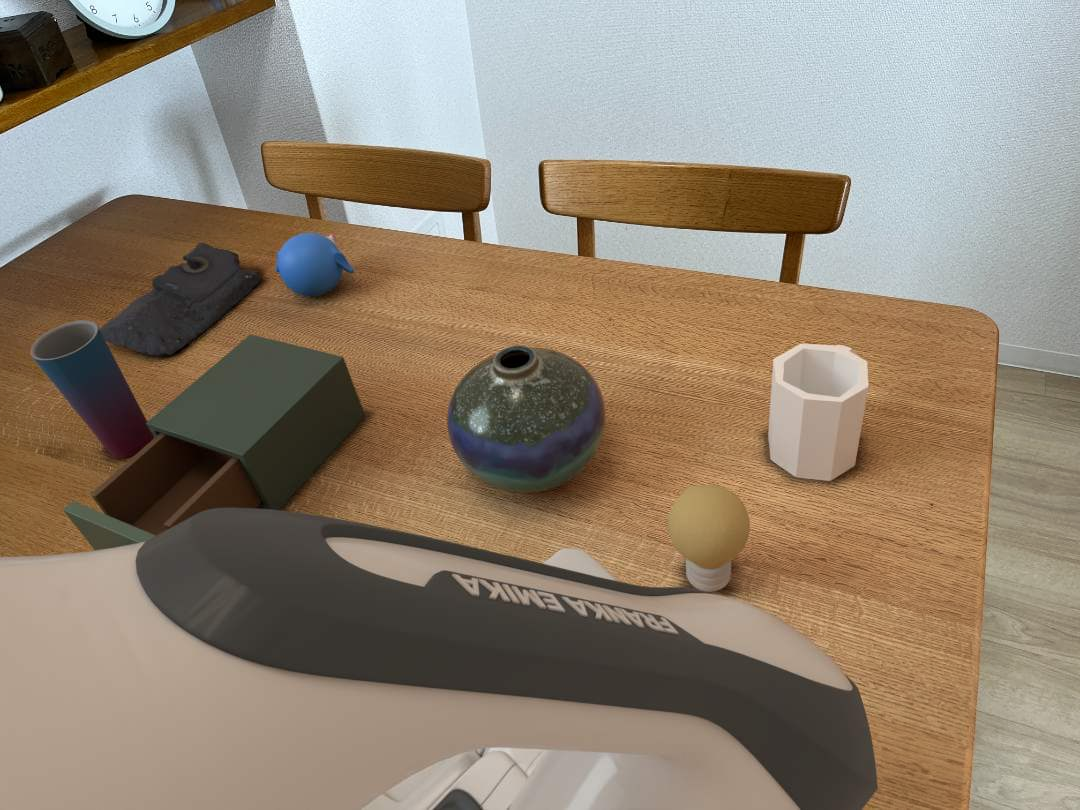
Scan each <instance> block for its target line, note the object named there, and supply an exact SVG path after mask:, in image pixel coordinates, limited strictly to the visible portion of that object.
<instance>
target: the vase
mask: <svg viewBox="0 0 1080 810" xmlns="http://www.w3.org/2000/svg"><path fill="white" fill-rule="evenodd" d="M606 413H607V411H606V405H605V400H604V395H603V393H602V390H601V387H600V386H599V383H598V382H597V381H596V379H595V377H594V375H593V374H592V373H591V372H590V371H589V370H588V369H587V368H586V367H585V366H584V365H583V364H582V363H580V362H579V361H578V360H576V359H575V358H573V357H572V356H569V355H568V354H566V353H563V352H560V351H557V350H554V349H551V348H547V347H546V348H545V347H533V346H532V347H530V346H526V345H519V344H517V345H511V346H507V347H505V348H503V349H501V350H500V351H498V352H497V353H496V354H493V355H491V356H488V357H487V358H485V359H483V360H481V361H480V362H478V363H477V364H476V365H474V366H473V367H472V368H471V369H470V370H469V371H467V373H465V375H463V377H462V378H461V379H460V380H459V382H458V383H457V385H456V387H455V388H454V390H453V392H452V395H451V397H450V400H449V403H448V407H447V415H446V419H447V420H446V427H447V433H448V438H449V441H450V443H451V447H452V448H453V450H454V453H455V455H456V456H457V458H458V459H459V461H460V462H461V464H462V465H463V466H464V467H465V469H466V470H468V471H469V472H470V473H471V474H472V475H473V476H474V477H475V478H477V479H478V480H479V481H481V482H483V483H484V484H486V485H488V486H490V487H493V488H495V489H497V490H501V491H503V492H508V493H514V494H532V493H540V492H544V491H549V490H552V489H554V488H557V487H559V486H562V485H564V484H566V483H568V482H569V481H571V480H573V478H575V477H576V476H578V475H579V474H580V473H581V472H582V471H583V470H584V469H585V468H586V467H587V466H588V464H589V463H590V462H591V461H592V460H593V458H594V456H595V455H596V453H597V451H598V450H599V447H600V445H601V443H602V440H603V437H604V432H605V427H606Z"/></svg>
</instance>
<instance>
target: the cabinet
mask: <svg viewBox="0 0 1080 810" xmlns="http://www.w3.org/2000/svg"><path fill="white" fill-rule="evenodd" d="M365 418H366V414H365V410H364V408H363V406H362V403H361V400H360V398H359V395H358V392H357V390H356V386H355V384H354V382H353V379H352V377H351V374H350V371H349V369H348V365H347V363H346V361H345V357H344V356H341V355H337V354H334V353H329V352H325V351H321V350H316V349H313V348H309V347H304V346H299V345H295V344H292V343H288V342H283V341H280V340H276V339H272V338H267V337H264V336H260V335H255V334H251V333H250V334H249V335H247V336H246V337H245V338H244V339H243V340H242V341H241V342H239V343H238V344H237V345H236V346H235V347H233V349H231V350H230V351H229V352H228V353H226V354H225V355H224V356H223V357H222V358H221V359H219V360H218V361H217V362H216V363H215V364H214V365H212V366H211V367H210V368H209V369H207V370H206V371H205V372H204V373H203V374H201V376H199V377H198V378H197V379H196V380H194V381H193V382H192V383H191V384H190V385H189V386H187V387H186V388H185V389H184V390H183V391H181V393H179V394H178V395H177V396H176V397H175V398H174V399H172V400H171V401H170V402H169V403H168V404H166V405H165V406H164V407H163V408H162V409H161V410H160V411H158V412H157V413H156V414H155V415H153V416H152V417H151V418H150V419H148V420H147V423H146V424H147V426H148V428H149V429H150V431H151V432H152V434H153V438H155V437H156V436H158V435H159V434H160V433H163V434H166V435H169V436H172V437H175V438H178V439H181V440H184V441H187V442H190V443H193V444H196V445H199V446H202V447H205V448H208V449H211V450H214V451H217V452H220V453H223V454H226V455H229V456H232V457H235V458H238V459H240V461H241V462H242V464H243V466H244V468H245V470H246V472H247V473H248V475H249V477H250V479H251V481H252V483H253V484H254V486H255V488H256V490H257V492H258V494H259V496H260V497H261V499H262V501H263V502H262V503H261V504H260V505H259V506H258V507H257V508H256V509H272V510H281V509H282V507H284V506H285V505H286V503H287V502H288V501H289V500H290V499H291V498H292V496H293V495H294V494H295V493H296V492H297V491H298V490H299V489H300V488H301V487H302V486H303V485H304V484H305V483H306V481H307V480H308V479H309V478H310V477H311V476H312V475H313V474H314V473H315V471H316V470H317V469H318V468H319V467H321V465H322V464H323V463H324V462H325V461H326V460H327V459H328V457H330V455H331V454H333V452H334V451H335V450H336V449H337V448H338V447H339V446H340V445H341V443H343V441H344V440H345V439H346V438H347V437H348V436H349V435H350V434H351V433H352V431H353V430H354V429H355V428H356V427H357V426H358V425H359V424H360V423H361V422H362V421H363V420H364V419H365Z"/></svg>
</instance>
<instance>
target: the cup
mask: <svg viewBox="0 0 1080 810" xmlns="http://www.w3.org/2000/svg"><path fill="white" fill-rule="evenodd" d="M99 329H100V327H99V326H98V324H97V323H96V322H94V321H91V320H85V319H84V320H83V319H82V320H81V319H79V320H74V321H69V322H66V323H63V324H59V325H58V326H55V327H53V328H51V329H49V330H48V331H46V332H44V333H43V334H42V335H40V336H39V337H38V338H37V339H36V340H35V341H34V342H33V344H32V345H31V347H30V351H29V353H30V356H31V357H32V359H33V360H34V361H35V362H36V363H37V365H38V366H39V368H40V369H41V370H42V372H43V373H45V375H46V376H47V377H48V378H49V380H50V381H51V382H52V383H53V385H54V387H56V388H57V390H58V391H59V392H60V394H61V395H62V396H63V397H64V398H65V400H66V401H67V402H68V403H69V404H70V406H71V407H72V408H73V409H74V411H75V412H76V413H77V415H78V416H79V417H80V418H81V420H82V421H83V422H84V423H85V425H86V426H87V427H88V428H89V430H91V432H92V433H93V435H95V437H96V438H97V440H99V442H100V443H101V444H102V446H103V447H104V448H105V449H106V451H107V452H108V453H109V454H110V455H111V456H112V457H114V458H118V459H123V458H124V459H125V458H130V457H133V456H135V455H136V454H137V453H138V452H139V451H140V450H141V449H143V448H144V447H145V446H146V445H147V444H148V443H150V442H151V441H152V440H153V439H154V436H153V434H152V432H151V431H150V429H149V428H148V426H147V424H146V423H147V422H148V420H147V418H146V416H145V414H144V413H143V410H142V409H141V407H140V404H139V403H138V401H137V399H136V397H135V394H134V393H133V391H132V389H131V387H130V385H129V384H128V382H127V379H126V378H125V376H124V374H123V372H122V370H121V368H120V366H119V364H118V362H117V360H116V359H115V356H114V354H113V353H112V351H111V349H110V347H109V345H108V342H106V341H105V339H104V337H103V335H102V333H101V332H100V330H99Z"/></svg>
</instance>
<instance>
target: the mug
mask: <svg viewBox="0 0 1080 810" xmlns="http://www.w3.org/2000/svg"><path fill="white" fill-rule="evenodd" d="M868 368H869V367H868V361H867V360H865V359H864V358H862V357H860V355H859V354H858V353H857V352H856V350H854V349H853V348H852V347H849V346H847V345H842V344H837V345H835V344H818V343H799V344H797V345H796V346H794V347H792V348H790V349H788V350H787V351H785V352H784V353H781V354H780V355H778V356H776V357H774V358H773V360H772V373H771V374H772V375H771V387H770V403H769V404H770V405H769V415H768V417H769V418H768V429H767V430H768V432H767V439H768V448H769V460H770V461H771V462H773V463H774V464H775V465H777V466H778V467H780V468H782V469H783V470H784V471H786V472H787V473H788V474H790V475H791V476H793V477H794V478H797V479H798V478H799V479H806V480H815V481H816V480H817V481H827V482H831V481H833V480H834V479H836V478H838V477H839V476H841V475H842V474H844V473H846V472H847V471H850V470H851V469H852V468H854V467H855V466H856V461H857V456H858V451H859V443H860V438H861V432H862V427H863V421H864V416H865V411H866V410H865V409H866V404H867V398H868V392H869V371H868Z"/></svg>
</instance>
